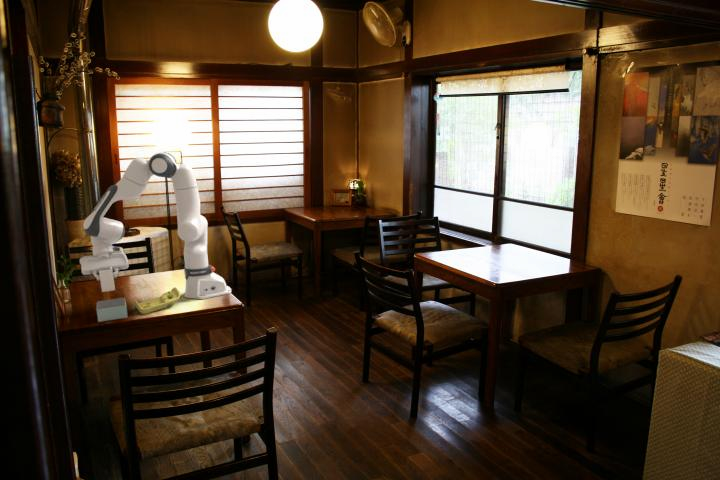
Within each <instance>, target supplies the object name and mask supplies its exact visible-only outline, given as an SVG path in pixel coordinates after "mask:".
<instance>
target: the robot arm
mask: <svg viewBox="0 0 720 480" xmlns="http://www.w3.org/2000/svg"><path fill="white" fill-rule="evenodd" d="M153 176H156V177H160V178H165V179H170V180H171V183H172V187H173V188H172V189H173V192H174V198H175V203H176V219H177V235H178V237H179V238H180V240H182V241H183V242H184V245H183V247H184V249H183V259H184V260H183V261H184V269H183V272H184V278H185V291H184V297H185V298H188V299H198V300H206V299H210V298H214V297H215V298H216V297H219V296H224V295H229V294H231V293H232V288H231V287H230V286H228V285H227V283H226V281H225V279H224V278H223V277H222V276H221V275H219V274H218V273H215V271H216V268H215V267H214V266H213V265H212V264H209V257H208V227H209V226H208V225H209V223H208V220H207V218H206V216H203V215H202V214H201V198H200V191H199V187H198V182H197V178H196V175H195V172H194V169H193V168H192V166H190V165H188V164H184V163H182V164H178V163H177V160H176V158H175V157H174V155H172V154H170V153H167V152H161V151H160V152H158V153H155V154H153V155H152V156H151V157H150V158H149V159H146V158H144V157H135V158H134V159H132V160H131V162H130V163H129V165H128V166H127V168H126V169H125V171H124V173H123V175H122V177H121V178H120V179H119V181H117V182H116V184H112V185H111V186H109V187H108V188H107V189H106V191H105V192H104V193H103V195H102V196H101V198H100V200H99V201H98V202H97V204H96V205H95V206H94V208H93V209H92V211H91V212H90V213H89V214H88V215H87V216H86V218H85V219H84V220H83V224H82V229H83V231H84V233H85V235H87V236H88V237H90V242H91V245H92V249H91V250H92V254H91V255H85V256H82V257H81V258H79V265H81V267H80V268H81V274H82V275H84V276H86V275H87V276H88V275H93V276H94V277H95V278H96V281H100V274H99V269H100V267H106V266H110V267H112V271H113V272H114V273H113V278H114V279H117V278H118V276H117V275H118V273H119V271H120V270H127V269H128V268H129V266H130V265H129V261H128V257H127V255H126V254H125V253H124V249H123V247H121V246H114V245H113V244H116V243H117V242H119V241H121V240H122V239H123V238H124V236H125V232H126V231H125V226H124V224H123V222H122V221H120V220H119V221H118V220H115V219H111V218H108V217H104V216H105V215H106V213H107V212H108V210H109V209H110V207H111V206H112V204H114V203H115V202H117V201H123V200H132V199H136V198H139V197H141V196H142V194H143V193H144V192H145V189H146V187H147V185H148V182H149V180H150V179H151V177H153ZM98 274H99V275H98Z"/></svg>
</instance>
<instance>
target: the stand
mask: <svg viewBox="0 0 720 480" xmlns="http://www.w3.org/2000/svg"><path fill="white" fill-rule="evenodd" d="M127 308H128V307H127V301H126V298H125V297H120V298H113V299H111V298H110V299H107V300H106V299H105V300H99V301H96V315H97V322H98V323H100V322H101V323H102V322H107V321H113V320H119V319H127V318H129V317H128V309H127Z"/></svg>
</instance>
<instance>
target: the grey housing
mask: <svg viewBox="0 0 720 480" xmlns="http://www.w3.org/2000/svg"><path fill="white" fill-rule="evenodd" d="M113 272H114V271H112V267H110V266H106V267H100V269H99V273H98V274H99V275H100V280H99V281H100V286H101V292H102V293H103V292H104V293H105V292H111V291H112V292H113V291H116V287H115V286H116V285H115V280H114V279H115V278H113Z"/></svg>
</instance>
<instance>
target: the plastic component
mask: <svg viewBox="0 0 720 480" xmlns="http://www.w3.org/2000/svg"><path fill="white" fill-rule="evenodd" d="M180 298H181V292H180V291H179V290H178V288H177V287H173V288H171V290H170V291H169V290H168V291H167V292H164V293H162V294H161V296H158V297H155V298H152V299H149V300H145V301H142V302H138V300H137V299H133V305H132V306H133V308H134V309H135V310H138V312H139V313H141V314H142V315H147V314H151V313H154V312H157V311H160V310H163V309H166V308H168V306H172V305H174V304H175V303H176V302H177V301H178V300H179V299H180Z"/></svg>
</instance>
